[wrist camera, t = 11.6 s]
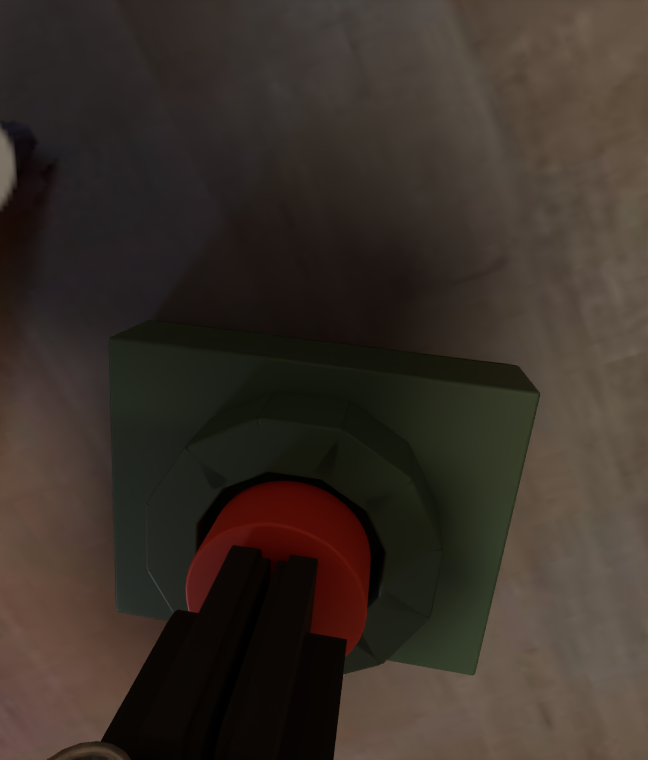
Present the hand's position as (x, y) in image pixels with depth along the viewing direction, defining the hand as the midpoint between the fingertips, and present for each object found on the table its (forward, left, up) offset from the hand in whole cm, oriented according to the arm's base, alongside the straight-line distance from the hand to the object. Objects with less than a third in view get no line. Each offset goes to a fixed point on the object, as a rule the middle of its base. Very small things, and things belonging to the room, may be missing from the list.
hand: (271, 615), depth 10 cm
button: (0, 0, -2) cm, 2 cm away
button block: (0, 0, -6) cm, 6 cm away
